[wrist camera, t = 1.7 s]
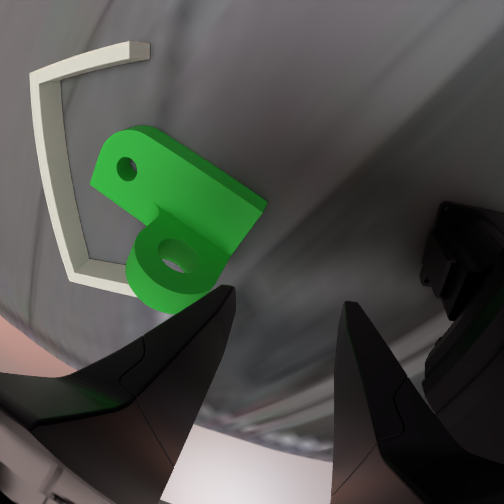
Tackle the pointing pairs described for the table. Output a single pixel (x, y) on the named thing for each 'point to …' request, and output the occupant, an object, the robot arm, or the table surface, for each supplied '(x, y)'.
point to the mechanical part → (174, 214)
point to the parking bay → (57, 165)
